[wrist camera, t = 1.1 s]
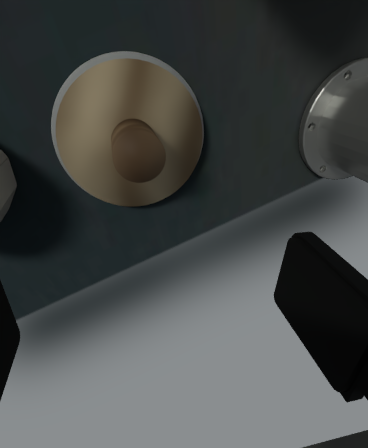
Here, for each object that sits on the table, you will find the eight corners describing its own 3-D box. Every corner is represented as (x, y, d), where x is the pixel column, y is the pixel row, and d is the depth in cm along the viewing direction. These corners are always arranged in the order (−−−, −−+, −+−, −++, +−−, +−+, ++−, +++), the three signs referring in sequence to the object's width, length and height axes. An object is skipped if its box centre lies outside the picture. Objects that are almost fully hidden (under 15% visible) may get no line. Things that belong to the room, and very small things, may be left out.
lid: (201, 59, 24) (227, 59, 19) (196, 195, 31) (215, 222, 26) (40, 57, 22) (21, 56, 16) (73, 207, 28) (66, 240, 23)
